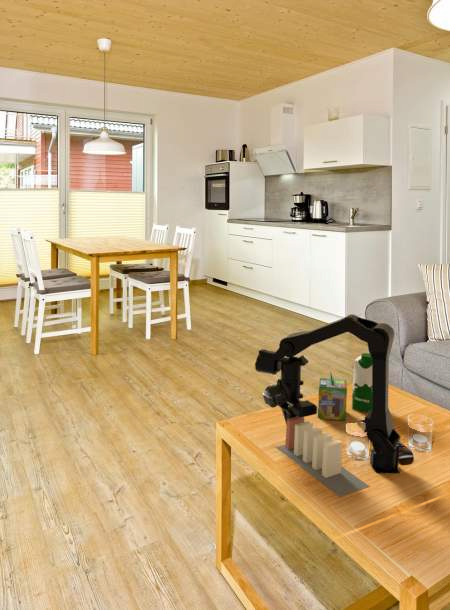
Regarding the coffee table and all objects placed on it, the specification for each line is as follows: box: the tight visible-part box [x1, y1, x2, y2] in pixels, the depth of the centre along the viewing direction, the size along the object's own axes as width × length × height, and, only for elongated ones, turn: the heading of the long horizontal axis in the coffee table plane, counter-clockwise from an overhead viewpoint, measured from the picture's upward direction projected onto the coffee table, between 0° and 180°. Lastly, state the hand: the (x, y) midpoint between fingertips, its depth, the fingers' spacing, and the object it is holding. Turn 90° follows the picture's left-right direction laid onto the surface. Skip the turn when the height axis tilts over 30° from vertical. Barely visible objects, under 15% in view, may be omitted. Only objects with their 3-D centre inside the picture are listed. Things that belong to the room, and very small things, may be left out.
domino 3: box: [303, 426, 323, 463], centre depth 140 cm, size 2×5×9 cm, turn 118°
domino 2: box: [294, 420, 314, 456], centre depth 144 cm, size 2×5×9 cm, turn 118°
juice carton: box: [317, 371, 348, 422], centre depth 170 cm, size 9×9×15 cm
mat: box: [275, 444, 371, 498], centre depth 138 cm, size 28×10×1 cm, turn 29°
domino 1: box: [284, 416, 305, 450], centre depth 148 cm, size 2×5×9 cm, turn 118°
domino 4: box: [312, 432, 333, 470], centre depth 137 cm, size 2×5×9 cm, turn 118°
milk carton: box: [351, 352, 372, 414], centre depth 175 cm, size 9×9×20 cm
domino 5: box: [322, 439, 343, 478], centre depth 133 cm, size 2×5×9 cm, turn 119°
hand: (289, 426), depth 150 cm, fingers closed
